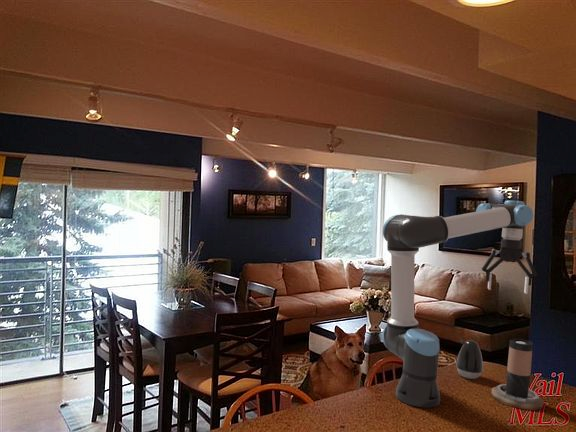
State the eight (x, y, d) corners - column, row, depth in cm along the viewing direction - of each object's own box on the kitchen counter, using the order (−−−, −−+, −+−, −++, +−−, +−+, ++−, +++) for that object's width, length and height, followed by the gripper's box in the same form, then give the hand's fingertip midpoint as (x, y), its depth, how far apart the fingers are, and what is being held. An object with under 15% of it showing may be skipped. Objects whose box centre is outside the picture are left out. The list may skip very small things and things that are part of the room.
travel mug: (531, 401, 164) (536, 345, 164) (508, 398, 166) (512, 343, 165) (524, 392, 172) (529, 340, 171) (502, 389, 173) (507, 337, 173)
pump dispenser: (463, 370, 196) (466, 335, 196) (486, 378, 188) (489, 341, 188) (450, 374, 190) (453, 338, 189) (474, 383, 182) (477, 345, 181)
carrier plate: (495, 404, 163) (495, 396, 163) (488, 386, 179) (488, 379, 179) (548, 413, 158) (549, 405, 158) (536, 394, 174) (537, 387, 174)
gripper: (479, 236, 185) (475, 288, 186) (548, 242, 178) (543, 296, 179) (477, 235, 192) (473, 286, 193) (543, 241, 185) (539, 293, 186)
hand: (507, 291), depth 186 cm, fingers open, 13 cm apart
